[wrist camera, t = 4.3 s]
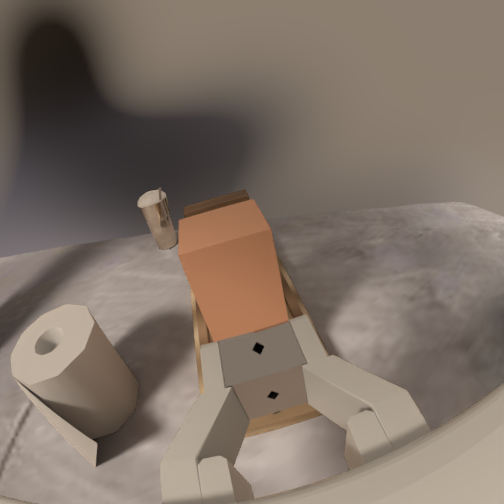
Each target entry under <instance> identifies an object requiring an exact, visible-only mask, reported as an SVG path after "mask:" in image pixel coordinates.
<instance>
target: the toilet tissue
mask: <svg viewBox="0 0 504 504" xmlns="http://www.w3.org/2000/svg"><path fill="white" fill-rule="evenodd" d="M11 366H12V376H13V378H14V379H15V380H16V382H17V383H18V384H19V386H20V387H21V388H22V390H23V391H24V392H25V393H26V395H27V396H28V397H29V398H30V400H31V401H32V402H33V403H34V404H35V406H36V407H37V408H38V409H39V410H40V412H41V413H42V414H43V415H44V416H45V417H46V418H47V420H48V421H49V422H50V423H51V424H52V425H53V426H54V427H55V428H56V429H57V430H58V432H59V433H60V434H61V435H62V436H63V437H64V438H65V439H66V440H67V441H68V442H69V443H70V444H71V445H72V446H73V447H74V448H75V449H76V450H77V451H78V452H79V453H80V454H82V455H83V456H84V457H85V458H86V459H87V460H88V461H89V462H90V463H92V464H93V465H94V466H95V467H96V455H97V443H96V442H94V441H93V440H91V439H95V438H98V437H102V436H105V435H109V434H112V433H115V432H117V431H118V430H119V428H120V427H121V426H122V425H123V424H124V423H125V422H126V421H127V419H128V418H129V417H130V416H131V415H132V414H133V413H134V411H135V410H136V405H137V398H138V392H139V386H140V385H139V383H138V382H137V380H136V379H135V377H134V376H133V374H132V372H131V371H130V369H129V368H128V366H127V365H126V364H125V362H124V361H123V360H122V358H121V357H120V356H119V354H118V353H117V351H116V350H115V349H114V347H113V346H112V344H111V343H110V341H109V340H108V338H107V337H106V336H105V334H104V333H103V331H102V330H101V328H100V327H99V325H98V324H97V322H96V320H95V319H94V317H93V316H92V314H91V313H90V311H89V309H88V308H87V306H80V305H70V304H66V305H63V306H61V307H59V308H56V309H54V310H52V311H49V312H47V313H45V314H43V315H42V316H40V317H39V318H38V319H37V320H36V321H35V322H34V323H33V324H32V325H31V326H29V327H28V328H27V329H26V330H25V331H24V332H23V333H22V335H21V337H20V338H19V340H18V342H17V344H16V346H15V348H14V350H13V352H12V354H11Z"/></svg>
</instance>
